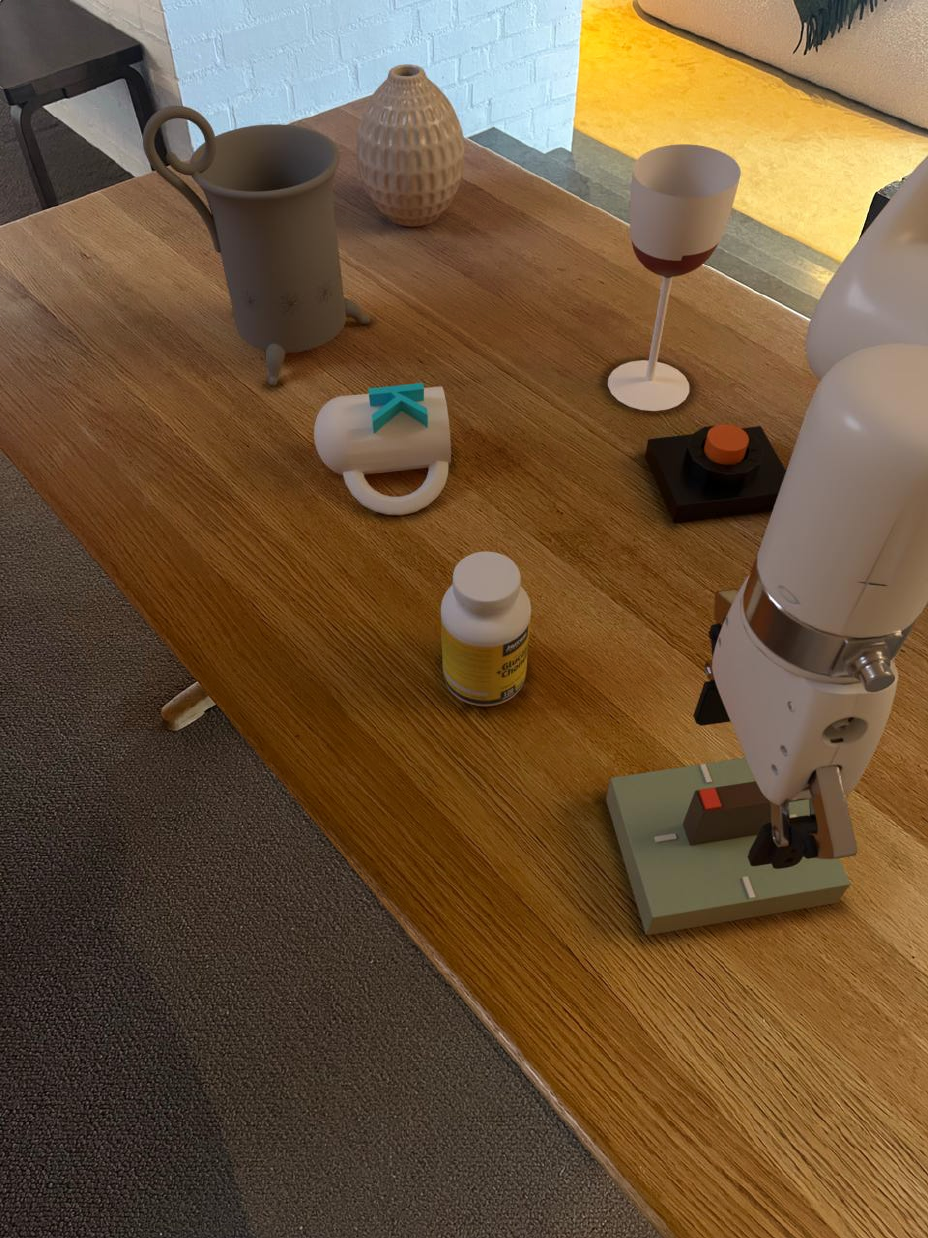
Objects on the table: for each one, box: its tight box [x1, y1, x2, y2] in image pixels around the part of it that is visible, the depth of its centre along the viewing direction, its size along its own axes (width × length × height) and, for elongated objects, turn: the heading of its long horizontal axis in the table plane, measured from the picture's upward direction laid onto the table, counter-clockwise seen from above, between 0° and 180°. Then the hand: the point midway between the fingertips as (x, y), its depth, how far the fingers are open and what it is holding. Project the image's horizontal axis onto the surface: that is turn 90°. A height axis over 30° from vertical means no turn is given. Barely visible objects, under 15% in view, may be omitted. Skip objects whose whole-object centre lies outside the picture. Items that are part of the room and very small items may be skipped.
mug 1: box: [142, 105, 371, 387], centre depth 93 cm, size 19×15×25 cm
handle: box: [683, 781, 771, 846], centre depth 61 cm, size 6×2×5 cm, turn 100°
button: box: [704, 423, 749, 465], centre depth 85 cm, size 4×4×2 cm
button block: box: [644, 424, 787, 524], centre depth 87 cm, size 11×9×4 cm
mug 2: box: [313, 382, 452, 516], centre depth 86 cm, size 12×9×12 cm
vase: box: [355, 63, 466, 228], centre depth 113 cm, size 13×13×17 cm
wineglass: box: [607, 143, 742, 412], centre depth 89 cm, size 9×10×22 cm
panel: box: [605, 756, 851, 936], centre depth 64 cm, size 13×10×3 cm
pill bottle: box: [440, 551, 532, 707], centre depth 70 cm, size 6×6×12 cm
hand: (744, 784), depth 58 cm, fingers open, 9 cm apart
